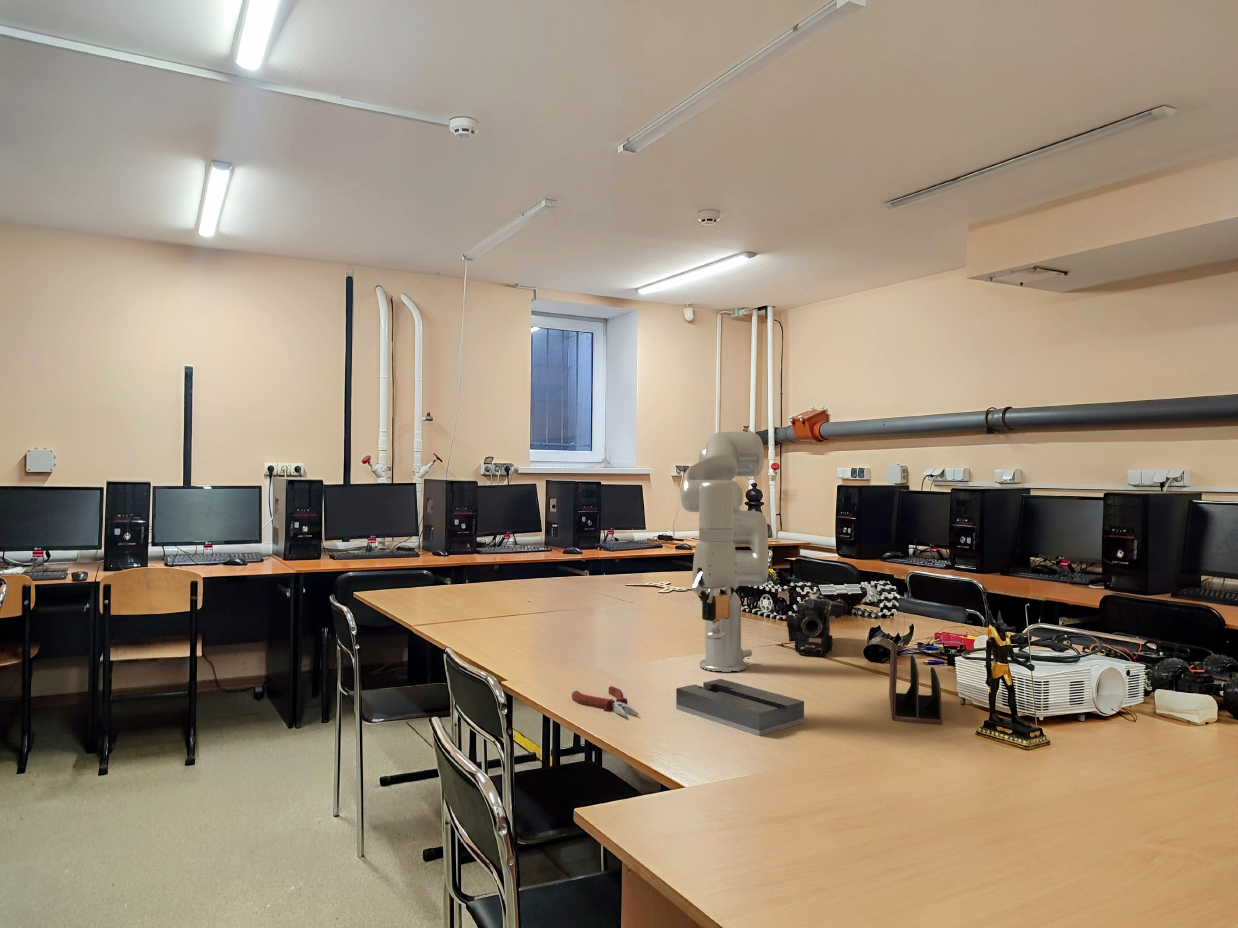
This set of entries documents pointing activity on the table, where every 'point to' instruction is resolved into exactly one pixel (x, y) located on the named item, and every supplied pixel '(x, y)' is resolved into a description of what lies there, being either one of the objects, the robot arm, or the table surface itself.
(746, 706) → the keyhole track
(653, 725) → the table surface
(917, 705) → the letter holder
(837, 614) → the movie camera
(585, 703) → the pliers
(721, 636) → the peg
